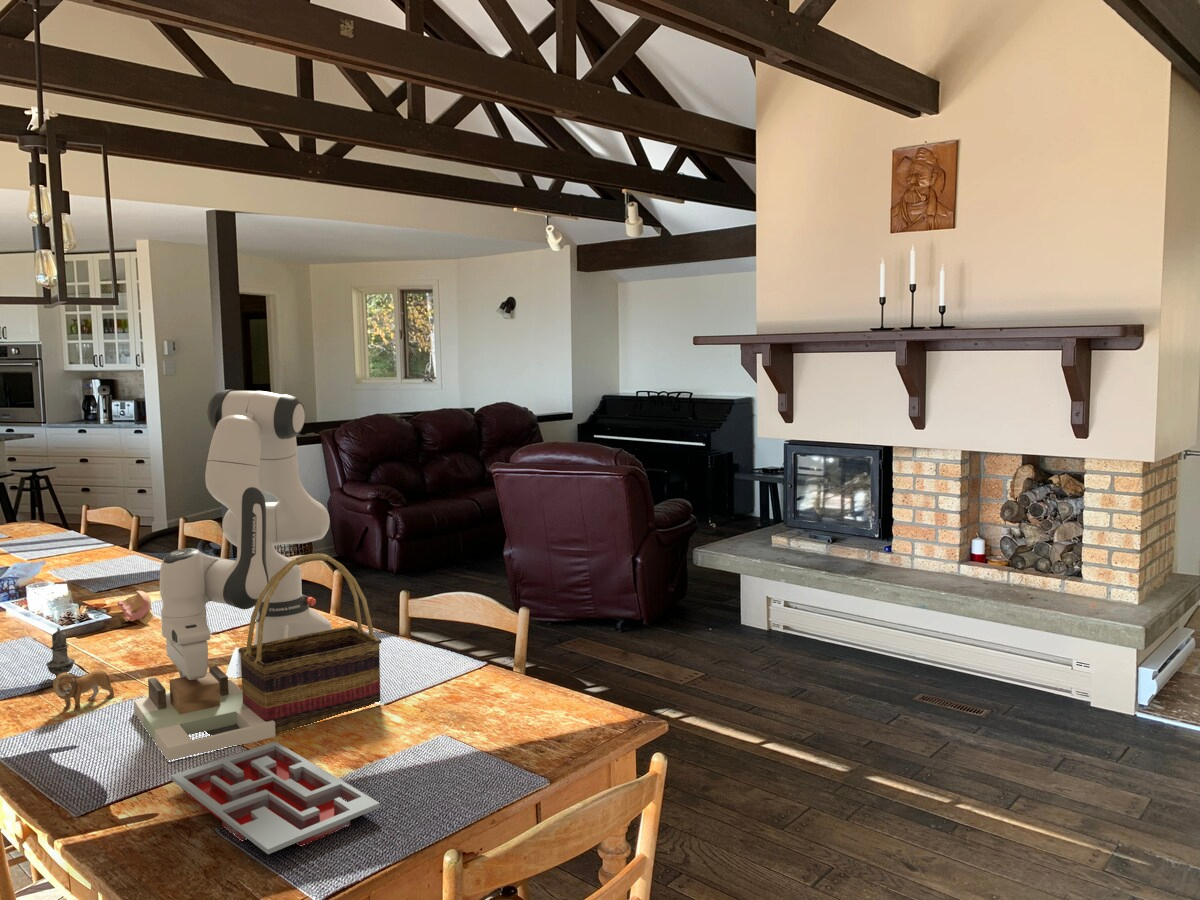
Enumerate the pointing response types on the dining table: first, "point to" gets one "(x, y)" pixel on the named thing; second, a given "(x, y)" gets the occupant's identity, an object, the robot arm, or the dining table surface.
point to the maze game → (274, 796)
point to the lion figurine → (81, 686)
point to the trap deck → (203, 725)
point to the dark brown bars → (159, 692)
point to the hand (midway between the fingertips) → (187, 687)
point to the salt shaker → (59, 655)
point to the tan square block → (194, 693)
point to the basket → (310, 665)
